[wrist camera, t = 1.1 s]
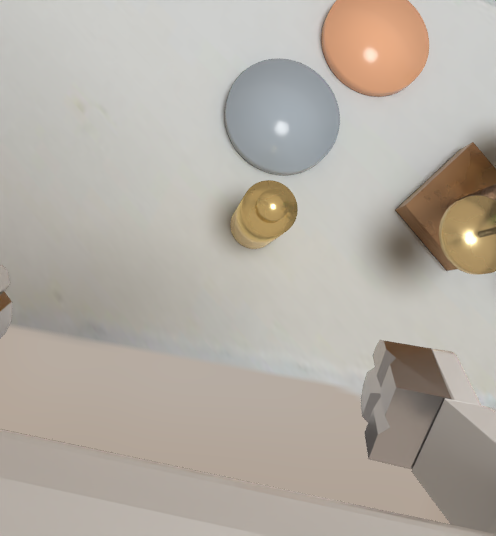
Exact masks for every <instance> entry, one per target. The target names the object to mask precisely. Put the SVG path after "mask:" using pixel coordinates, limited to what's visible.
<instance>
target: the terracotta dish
mask: <svg viewBox="0 0 496 536" xmlns="http://www.w3.org/2000/svg"><path fill="white" fill-rule="evenodd" d="M321 39H322V49H323V53H324V57H325V59H326V61H327V64H328V65H329V67H330V69H331V70H332V72H333V73H334V74H335V76H336V77H337V78H338V79H339V80H340V81H341V82H342V83H344V84H345V85H346V86H348V87H349V88H351V89H352V90H354V91H356V92H359V93H361V94H364V95H369V96H377V97H379V96H388V95H392V94H395V93H398V92H399V91H401V90H403V89H404V88H406V87H407V86H408V85H409V84H410V83H411V82H412V81H414V80H415V79H416V78H417V77H418V75H419V74H420V73H421V71H422V70H423V68H424V66H425V64H426V61H427V58H428V53H429V38H428V32H427V29H426V26H425V24H424V21H423V19H422V17H421V16H420V14H419V13H418V11H417V10H416V8H415V7H414V6H413V5H412V4H411V3H410V2H409V1H408V0H337V1H336V2H335V3H334V4H333V6H332V8H331V9H330V11H329V13H328V15H327V17H326V19H325V22H324V25H323V29H322V36H321Z"/></svg>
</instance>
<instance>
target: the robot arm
mask: <svg viewBox="0 0 496 536" xmlns="http://www.w3.org/2000/svg"><path fill="white" fill-rule="evenodd" d="M9 285H10V280H9V273H8V270H7V269H6V268H5V267H4V266H3V265H0V338H1V337H2V336H3V335H4V334H5V333H6V331H7V329H8V327H9V325H10V323H11V319H12V313H13V308H12V301H11V300H10V298H9V297H8V296H7V294H6V293H5V292H4V291H5V290H6V289H7V287H8V286H9ZM373 360H374V365H375V367H374V368H373V369H371V370H370V371H368V372H367V374H366V377H365V380H364V384H363V389H362V395H361V410H362V417H363V418H364V419H365V420H366V421H367V422H368V425H367V428H366V430H365V439H366V446H367V452H368V458H369V459H370V460H374V461H378V462H382V463H387V464H391V465H395V466H400V467H404V468H408V469H412V473H413V474H414V476H415V477H416V478H417V480H418V481H419V482H420V484H421V485H422V486H423V488H424V489H425V490H426V492H427V493H428V494H429V496H430V497H431V498H432V500H433V501H434V502H435V503H436V505H437V506H438V508H439V509H440V511H441V512H442V513H443V514H444V516H445V517H446V519H447V520H448V521H449V523H450V524H446V523H441V522H436V521H432V520H427V519H422V518H418V517H412V516H408V515H403V514H398V513H393V512H389V511H384V510H379V509H374V508H370V507H365V506H360V505H356V504H351V503H346V502H342V501H336V500H332V499H327V498H323V497H318V496H314V495H309V494H304V493H299V492H295V491H290V490H285V489H281V488H276V487H271V486H267V485H262V484H257V483H252V482H248V481H243V480H239V479H234V478H229V477H225V476H220V475H215V474H211V473H206V472H201V471H196V470H192V469H187V468H183V467H178V466H173V465H169V464H164V463H159V462H154V461H149V460H145V459H140V458H135V457H130V456H126V455H121V454H116V453H112V452H107V451H102V450H97V449H93V448H88V447H83V446H79V445H74V444H69V443H64V442H59V441H54V440H50V439H45V438H40V437H35V436H31V435H26V434H22V433H17V432H12V431H8V430H3V429H0V536H496V412H495V411H494V410H492V409H491V408H490V407H486V406H482V405H481V403H480V401H479V399H478V397H477V395H476V393H475V391H474V389H473V387H472V385H471V383H470V381H469V379H468V377H467V375H466V373H465V371H464V369H463V367H462V365H461V363H460V361H459V359H458V357H457V355H456V354H455V353H453V352H450V351H444V350H438V349H431V348H425V347H419V346H413V345H407V344H401V343H395V342H389V341H383V340H379V342H378V344H377V345H376V348H375V351H374V353H373Z"/></svg>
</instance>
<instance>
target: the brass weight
mask: <svg viewBox="0 0 496 536" xmlns="http://www.w3.org/2000/svg"><path fill="white" fill-rule="evenodd" d="M296 216H297V202H296V199H295V197H294V195H293V193H292V192H291V191H290V190H289V189H288V188H287V187H286V186H285V185H283V184H281V183H279V182H276V181H269V180H268V181H261V182H258V183H256V184H254V185H253V186H252V187H251V188H250V189H249V190H248V191H247V192H246V194H245V196H244V197H243V199H242V200H241V202H240V204H239V205H238V207H237V208H236V210H235V212H234V213H233V215H232V218H231V222H230V227H231V232H232V235H233V237H234V238H235V240H236V241H237V242H238V243H239V244H241V245H242V246H244V247H247V248H251V249H257V248H262V247H264V246H266V245H267V244H269V243H270V242H272V241H273V240H274V239H276V238H277V237H279V236H280V235H282V234H283V233H284V232H286V231H287V230H288V229H289V228H290V227H291V226H292V225H293V223H294V222H295V219H296Z"/></svg>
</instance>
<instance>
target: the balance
mask: <svg viewBox="0 0 496 536" xmlns="http://www.w3.org/2000/svg"><path fill="white" fill-rule="evenodd" d="M396 211H397V213H398V214H399V215H400V216H401V217H402V218H403V220H404V221H405V222H406V223H407V224H408V226H409V227H410V228H411V229H412V230H413V231H414V233H415V234H416V235H417V236H418V237H419V238H420V240H421V241H422V242H423V243H424V244H425V246H426V247H427V248H428V249H429V250H430V251H431V253H432V254H433V255H434V256H435V257H436V258H437V260H438V261H439V262H440V263H441V264H442V266H443V267H444V268H445V269H446V270H454V269H459V270H461V271H463V272H466V273H469V274H486V273H492V272H495V271H496V169H495V168H494V167H493V165H492V164H491V163H490V162H489V161H488V159H487V158H486V157H485V156H484V155H483V153H482V152H481V151H480V150H479V149H478V147H477V146H476V145H475V144H474V143H471V144H469V145H467V146H465V147H464V148H462V149H460V150H459V151H458V152H457V153H456V154H455V155H454V156H453V157H452V158H451V159H449V160H448V161H447V162H446V163H445V164H444V165H443V166H442V167H441V168H440V169H439V170H438V171H437V172H436V173H434V174H433V175H432V176H431V177H430V178H429V179H428V180H427V181H426V182H425V183H424V184H423V185H422V186H420V187H419V188H418V189H417V190H416V191H415V192H414V193H413V194H412V195H411V196H410V197H409V198H408V199H406V200H405V201H404V202H403V203H402V204H401V205H400V206H399V207H398V208H397V209H396Z"/></svg>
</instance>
